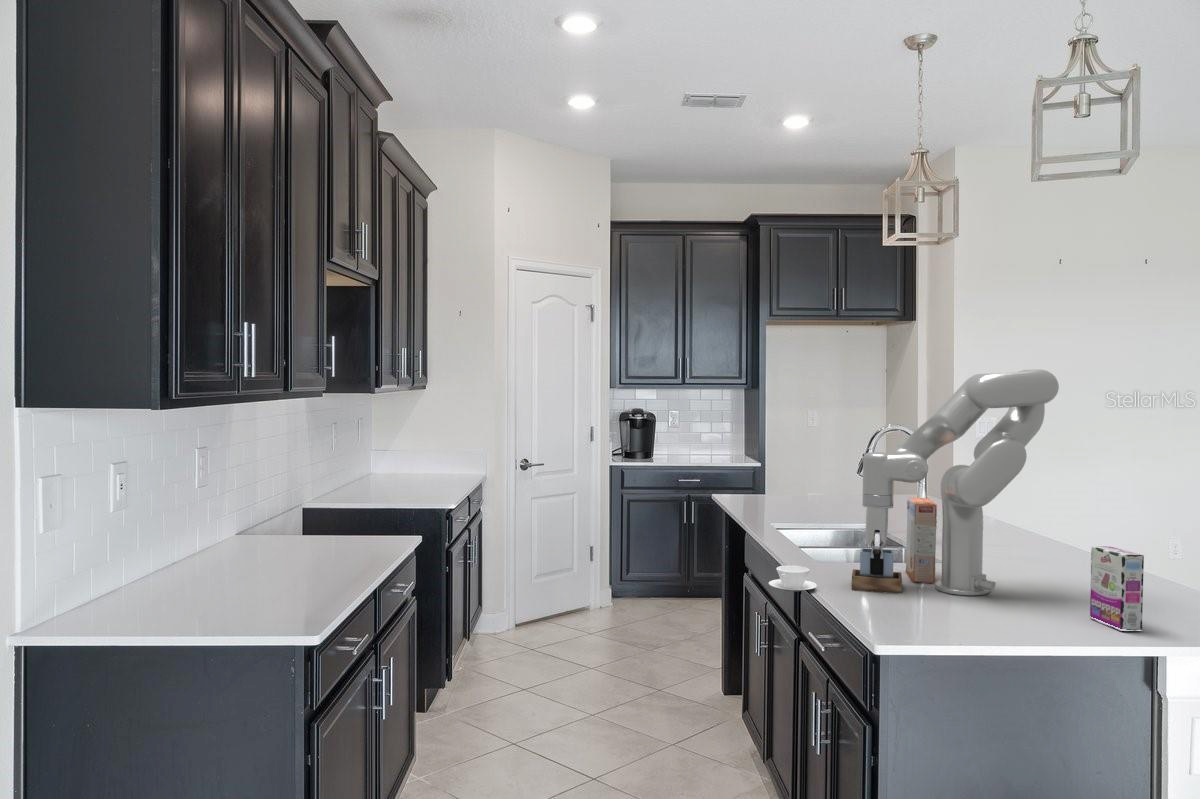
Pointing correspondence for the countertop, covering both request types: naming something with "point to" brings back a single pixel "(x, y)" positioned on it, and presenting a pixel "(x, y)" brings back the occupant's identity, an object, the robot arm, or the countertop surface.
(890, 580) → the walnut crate
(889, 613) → the countertop surface
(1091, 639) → the countertop surface
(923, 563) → the cracker box
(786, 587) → the teacup
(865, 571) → the slate crate
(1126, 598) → the candy bar box
